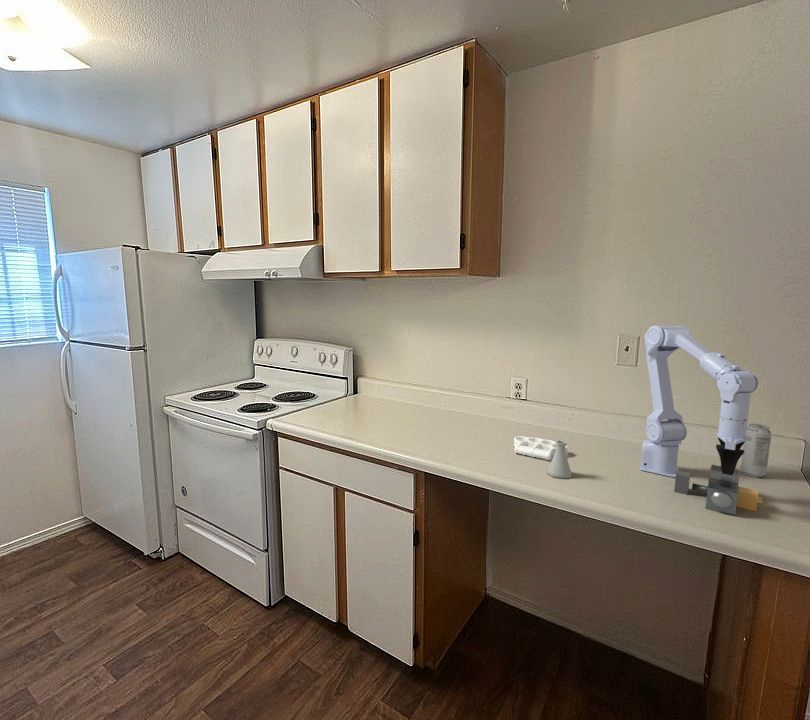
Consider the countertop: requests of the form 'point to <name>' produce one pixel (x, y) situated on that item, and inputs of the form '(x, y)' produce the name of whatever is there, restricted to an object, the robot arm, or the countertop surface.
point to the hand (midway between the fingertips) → (727, 469)
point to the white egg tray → (535, 447)
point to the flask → (560, 462)
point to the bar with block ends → (745, 495)
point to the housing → (722, 491)
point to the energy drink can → (756, 450)
